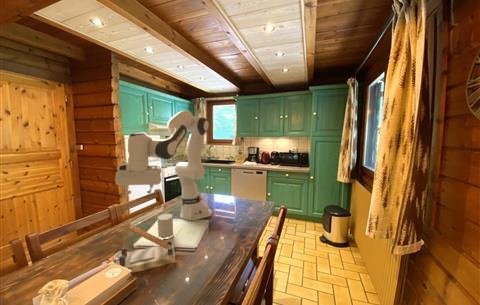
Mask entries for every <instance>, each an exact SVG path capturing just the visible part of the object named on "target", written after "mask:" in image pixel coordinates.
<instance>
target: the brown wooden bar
mask: <svg viewBox="0 0 480 305" xmlns="http://www.w3.org/2000/svg"><path fill="white" fill-rule="evenodd" d="M129 231H130V232H132V233H134V234H136V235H138V236H140V237H142V238H144V239H146V240H147V241H150V242H152V243H153V244H156V245H157V246H162V247H164V248H166V249H168V247H172V246H171V244H169V243H167V241H166V240H161V239H159V238H158V236H155V235H154V234H151V233H150V232H147V231H146V230H143V229H141V228H139V227H137V226H136V225H133V224H132V225H131V226H130V230H129Z"/></svg>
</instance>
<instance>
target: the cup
mask: <svg viewBox="0 0 480 305" xmlns="http://www.w3.org/2000/svg"><path fill="white" fill-rule="evenodd" d="M173 218H174V216H173V214H171V213H164V214H160V215H158V217H157V234H158V235H157V237H158V236H159V237H161V238H166V237H170V236H172V235H173V236H174V223H173V222H174V220H173Z"/></svg>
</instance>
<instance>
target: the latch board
mask: <svg viewBox="0 0 480 305" xmlns="http://www.w3.org/2000/svg"><path fill="white" fill-rule="evenodd" d="M166 242H167V243H169V244H171V246H172V247H168V249H166V248H164V247H162V246H160V245H156V246H151V247H148V248H147V247H146V248H143V249H139V250H133V251H128V248H127V246H124V247H122V248H121V249H120V252H121V253H120V255H119V257H118V262H117V265H121V266H123V267H126V268H128V269H130V270H132V273H131V274H135V273H138V272H142V271H145V270H151V269H154V268H158V267H162V266H165V265H170V264H174V263H176V252H175V246H174V242H172V239H168V240H166Z"/></svg>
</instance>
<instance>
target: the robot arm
mask: <svg viewBox="0 0 480 305" xmlns="http://www.w3.org/2000/svg"><path fill="white" fill-rule="evenodd" d="M209 126H210V122H209V121H208V119H207V118H206V117H204V116H203V117H202V116H201V117H200V116H194V115H193V113H192V112H191V111H190V110H186V109H185V110H184V109H183V110H181V111H179V112H178V113H176V114H175V115H173V116H172V117H171V118H170V119H169V120H168V122H167V128H168V131H169V132H170V133H171V136H170V137H168V138H165V139H157V138H156V139H155V138H154V137H151V136H149V135H148V134H147V133H146V132H141V131H139V132H133V133H131V134H129V136H128V140H127V153H128V159H127V162H124V163H122V164H119V165H118V166H117V167H116V170H117V171H116V172H115V178H114V180H115V184H116V185H117V186H123V188H124V189H125V191H126V195H130V194H132V189H130V188H129V186H148V185H149V188H147V189H146V190H147V191H146V192H147V194H152V189H153V188H154V186H156V185H160V184H161V183H162V175H161V173H162V168H161V167H160V166H158V165H149V162H150V160H149V158H153V159H154V158H155V159H161V160H170V159H172V157H174V155H175V154H176V151H177V149H178V147H179V146H180V144H181V143H182V141H183V140H184V138H185V137H186V135H187V132H188V133H190V134H189V137H188V140H187V144H186V148H185V155H186V157H187V161H181V162H178V163H176V165H175V168H174V172H175V174H176V175H177V176H178V179H179V182H180V186H181V198H180V199H181V200H180V201H181V212H180V215H179V216H180V218H181V219H183V220H187V221H191V220H193V221H197V220H201V219H205V218H207V217H211V216H212V215H213V212H212V210H211V209H210V208H209V206H208V204H207V203H205V202H204V201H202V200H203V198H202V196H200V195H199V194H198V190H199V189H198V188H199V187H198V184H197V183H196V181H195V180H202V178H203V177H204V176H205V168H204V166H203V164H202V152H203V148H204V147H203V146H204V142H205V141H204V140H205V134H206V133H207V132H208V130H209Z"/></svg>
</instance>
